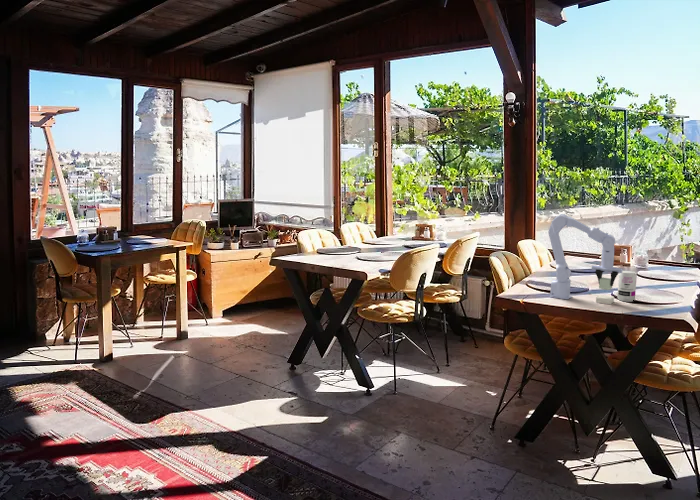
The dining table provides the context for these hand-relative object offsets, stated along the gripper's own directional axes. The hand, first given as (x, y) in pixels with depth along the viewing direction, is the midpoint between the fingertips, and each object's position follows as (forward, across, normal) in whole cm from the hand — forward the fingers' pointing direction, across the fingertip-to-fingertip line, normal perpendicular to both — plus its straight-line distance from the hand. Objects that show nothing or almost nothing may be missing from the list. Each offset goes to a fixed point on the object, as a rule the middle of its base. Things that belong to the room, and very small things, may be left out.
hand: (605, 285), depth 294 cm
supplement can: (+9, +8, +10) cm, 16 cm away
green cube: (+2, 0, 0) cm, 2 cm away
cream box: (+9, 0, 0) cm, 9 cm away
